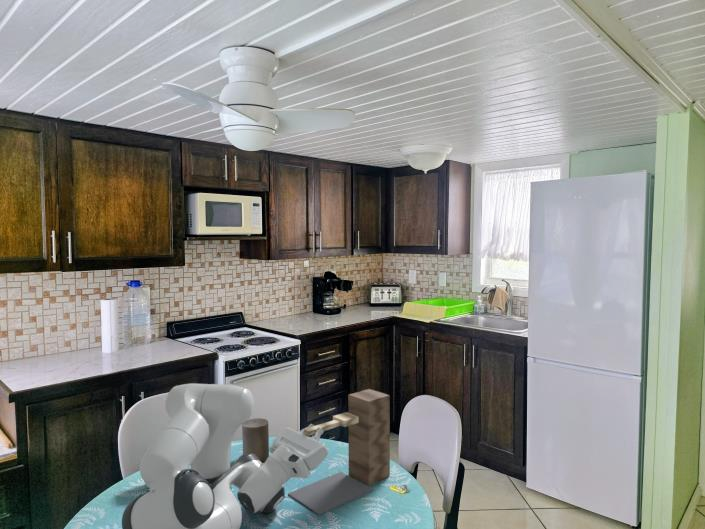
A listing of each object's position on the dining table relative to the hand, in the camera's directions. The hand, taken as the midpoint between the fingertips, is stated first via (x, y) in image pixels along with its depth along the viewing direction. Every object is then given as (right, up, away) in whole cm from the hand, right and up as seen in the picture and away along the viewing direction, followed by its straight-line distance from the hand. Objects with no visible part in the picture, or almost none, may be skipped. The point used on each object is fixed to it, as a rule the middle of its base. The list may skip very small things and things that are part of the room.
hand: (317, 427), depth 149 cm
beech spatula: (+4, -1, +4) cm, 6 cm away
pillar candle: (-25, -22, +29) cm, 44 cm away
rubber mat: (+4, -22, +4) cm, 23 cm away
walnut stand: (+17, -22, +15) cm, 31 cm away
